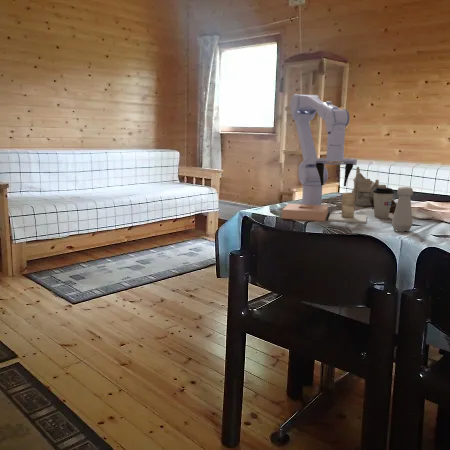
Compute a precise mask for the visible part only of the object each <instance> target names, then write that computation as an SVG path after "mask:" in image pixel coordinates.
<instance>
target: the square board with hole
mask: <svg viewBox="0 0 450 450" xmlns="http://www.w3.org/2000/svg"><path fill="white" fill-rule="evenodd" d="M281 212H282V214H281V219H285V220H286V219H287V220H299V221H300V220H301V221H302V220H303V221H316V222H317V221H318V222H326V219H327V217H328V215H329V205H323V204H321V205H307V204H302V203H287V205H286V206H284V207H283V208H282V211H281Z"/></svg>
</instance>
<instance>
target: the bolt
mask: <svg viewBox="0 0 450 450" xmlns="http://www.w3.org/2000/svg"><path fill="white" fill-rule="evenodd" d="M370 202H371V204H372V206H371V207H373V208H374V196H372V198H371V200H370ZM396 205H397V202H395V200H394V199H392V202H391V207H390V212H393V213H394V212H395V209H396Z"/></svg>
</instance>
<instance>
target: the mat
mask: <svg viewBox="0 0 450 450" xmlns="http://www.w3.org/2000/svg"><path fill="white" fill-rule="evenodd" d="M327 219H328V220H327V221H328V222H338V223H339V222H340V223H341V222H342V223H354V224H355V223H356V224H358V223H359V224H367V215H366V214H363V215H362V214H354V218H343V217H342V213H337V212H336V213H334V212H331V213H330V214H329V217H328V218H327Z"/></svg>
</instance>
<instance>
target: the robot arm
mask: <svg viewBox="0 0 450 450" xmlns="http://www.w3.org/2000/svg"><path fill="white" fill-rule="evenodd" d="M332 103H333V102H332V101H330V100H329V101H328V100H327V101H325V102H324V101H322V99H320V95H317V94H298V93H294V94H292V96H291V99H290V103H289V108H290V114H291V117H292V119H293V120H294V121H295V126H296V132H297V136H298V140H299V146H300V150H301V155H302V159H303V160H302V162H300V164H299V165H298V168H297V169H298V175H297V176H298V181H299V183H300V184H301V185H302V197H301V198H302V199H301V204H307V205H322V199H323V197H322V196H323V186H325V183H326V182H327V181H328V178H329V172H328V169H327V167H326V165H340V166H341V165H344V166H345V167H344V169H345V170H344V180H343V187H347V182H348V178H349V175H350V174H351V171H352V170H353V167H354V166H357V163H358V159H356V158H344V156H345V141H346V140H345V139H346V127H347V126H348V125H349V123H350V113H349V111H348V110H347V109H345V108H344V109H343V108H342V109H340V108H339V107H338V106H337V105H334V104H332ZM316 114H317V116H318V117H320V118H321V119H322V120H324V122H325V128H326V129H325V130H326V132H327V138H326V139H327V142H326V157H325V158H322V157H318V156H317V155H318V154H317V151H316V147H315V142H314V139H313V137H314V136H313V134H312V129H311V124H310V121H312V120H314V118H315V116H316Z"/></svg>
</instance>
